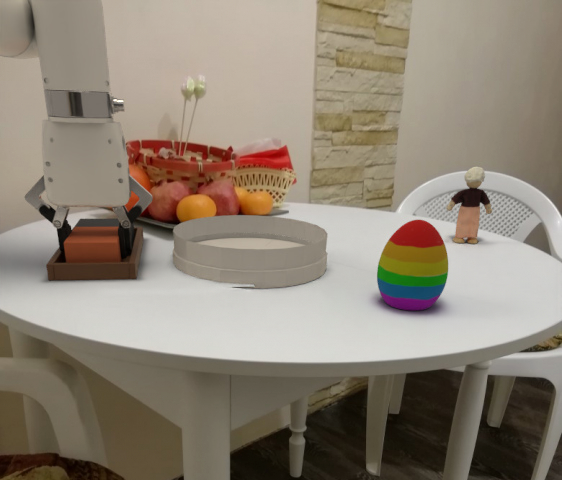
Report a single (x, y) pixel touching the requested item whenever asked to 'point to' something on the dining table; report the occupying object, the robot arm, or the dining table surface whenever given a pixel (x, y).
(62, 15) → the robot arm
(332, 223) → the dining table surface
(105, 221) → the pad
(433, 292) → the decorative egg
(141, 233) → the pad frame
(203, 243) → the dish
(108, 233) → the pad
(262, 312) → the dining table surface
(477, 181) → the grandmother figurine
